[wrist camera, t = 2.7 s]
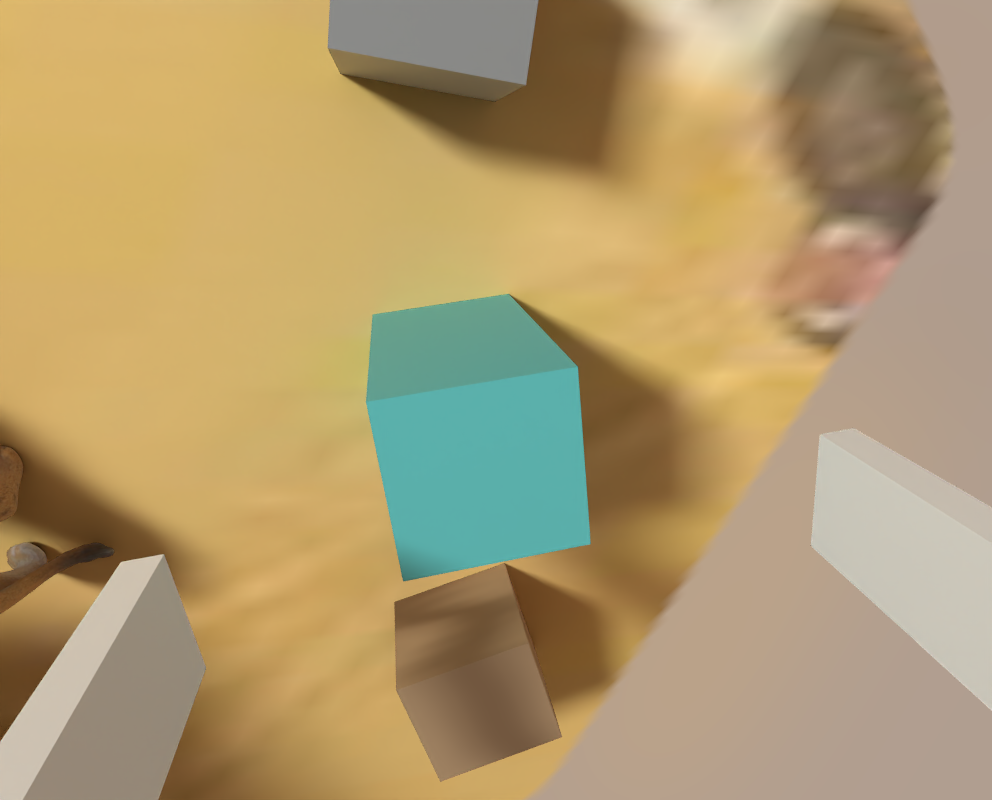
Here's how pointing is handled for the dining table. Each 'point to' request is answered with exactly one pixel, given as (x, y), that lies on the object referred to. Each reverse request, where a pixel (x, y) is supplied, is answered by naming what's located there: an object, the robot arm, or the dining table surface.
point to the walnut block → (471, 673)
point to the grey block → (435, 43)
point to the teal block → (475, 435)
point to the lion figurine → (29, 562)
